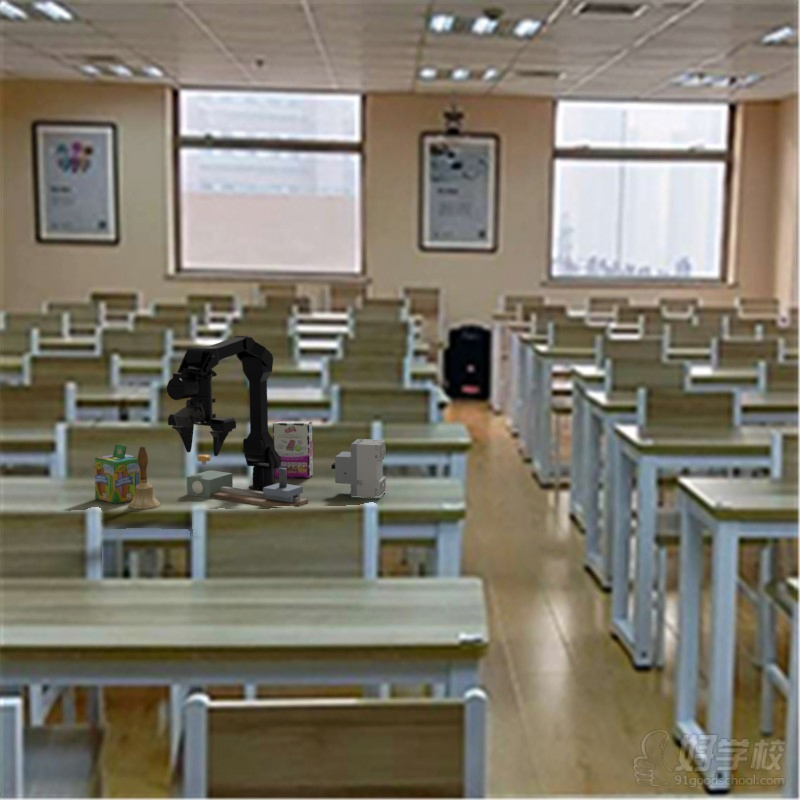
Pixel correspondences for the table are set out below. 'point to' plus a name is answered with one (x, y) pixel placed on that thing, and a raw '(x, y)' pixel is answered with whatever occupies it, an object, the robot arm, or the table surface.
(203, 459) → the tan round piece
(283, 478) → the grey peg on base
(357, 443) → the circuit breaker
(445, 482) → the table surface
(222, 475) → the grey green box
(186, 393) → the robot arm
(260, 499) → the rail track
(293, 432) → the candy bar box
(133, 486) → the chalk box
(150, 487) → the hand bell
